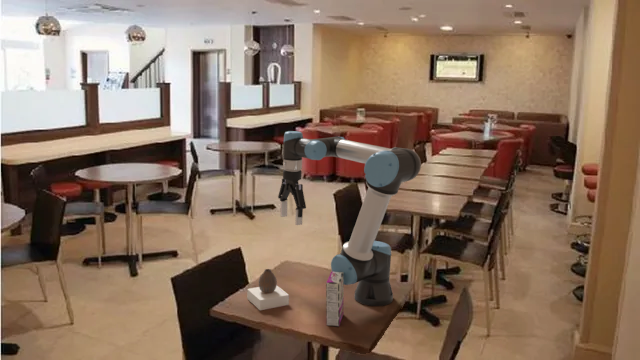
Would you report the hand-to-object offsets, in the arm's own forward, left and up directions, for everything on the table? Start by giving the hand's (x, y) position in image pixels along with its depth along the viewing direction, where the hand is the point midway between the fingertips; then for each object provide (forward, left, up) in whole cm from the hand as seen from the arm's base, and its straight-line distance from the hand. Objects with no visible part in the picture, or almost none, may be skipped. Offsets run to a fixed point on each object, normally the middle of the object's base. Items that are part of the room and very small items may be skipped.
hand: (291, 220), depth 239 cm
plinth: (-15, +17, -27) cm, 35 cm away
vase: (-15, +17, -23) cm, 32 cm away
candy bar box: (-40, +2, -27) cm, 48 cm away
